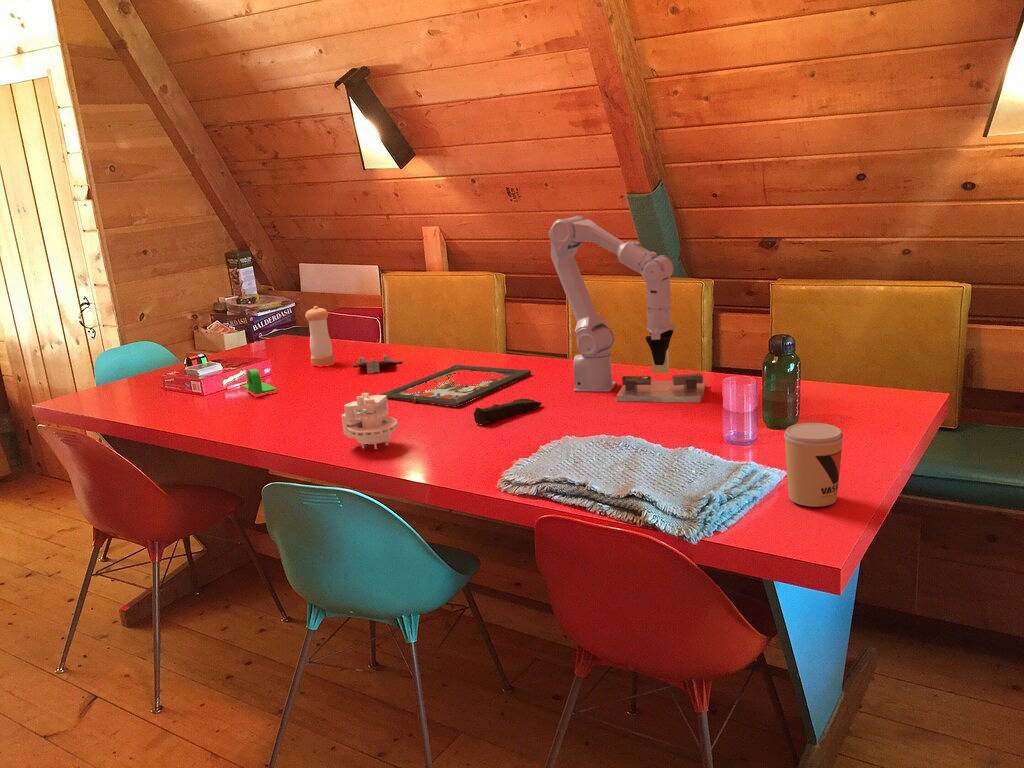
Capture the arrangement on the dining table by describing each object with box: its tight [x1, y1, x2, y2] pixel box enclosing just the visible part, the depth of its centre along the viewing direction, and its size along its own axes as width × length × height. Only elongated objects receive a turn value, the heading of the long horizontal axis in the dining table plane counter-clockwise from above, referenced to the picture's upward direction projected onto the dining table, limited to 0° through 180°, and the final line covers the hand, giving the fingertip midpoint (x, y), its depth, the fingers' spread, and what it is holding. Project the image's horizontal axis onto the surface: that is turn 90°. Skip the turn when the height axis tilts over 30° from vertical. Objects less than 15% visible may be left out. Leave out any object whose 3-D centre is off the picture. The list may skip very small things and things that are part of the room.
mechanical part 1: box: [242, 368, 278, 394], centre depth 249 cm, size 12×6×8 cm, turn 35°
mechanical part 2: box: [341, 392, 399, 450], centre depth 194 cm, size 11×12×12 cm
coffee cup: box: [783, 422, 844, 508], centre depth 149 cm, size 9×9×12 cm
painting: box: [378, 364, 532, 407], centre depth 240 cm, size 28×35×2 cm
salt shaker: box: [304, 305, 336, 366], centre depth 275 cm, size 7×7×19 cm
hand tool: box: [473, 398, 543, 426], centre depth 210 cm, size 19×4×5 cm
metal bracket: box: [352, 354, 403, 374], centre depth 267 cm, size 14×6×15 cm
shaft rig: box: [615, 372, 707, 404], centre depth 218 cm, size 20×14×5 cm
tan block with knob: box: [651, 346, 670, 374], centre depth 216 cm, size 4×4×7 cm
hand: (660, 362), depth 217 cm, fingers closed on tan block with knob, 4 cm apart
